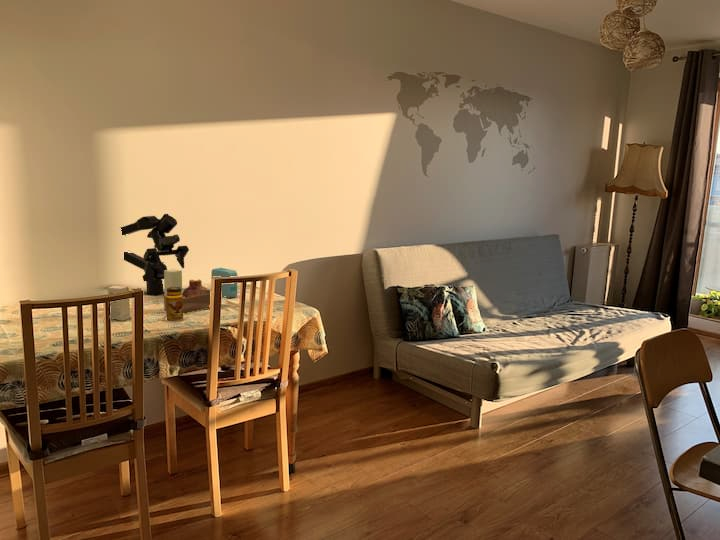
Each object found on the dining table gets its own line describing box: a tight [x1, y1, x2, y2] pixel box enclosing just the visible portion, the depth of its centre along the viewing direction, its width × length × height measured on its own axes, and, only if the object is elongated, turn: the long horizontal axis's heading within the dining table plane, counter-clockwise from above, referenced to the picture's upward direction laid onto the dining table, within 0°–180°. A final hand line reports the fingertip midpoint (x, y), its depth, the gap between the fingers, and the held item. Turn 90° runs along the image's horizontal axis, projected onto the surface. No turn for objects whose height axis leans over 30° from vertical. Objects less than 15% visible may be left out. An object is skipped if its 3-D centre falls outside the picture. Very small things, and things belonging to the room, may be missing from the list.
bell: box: [182, 279, 209, 298], centre depth 261 cm, size 12×12×7 cm
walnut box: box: [163, 288, 211, 314], centre depth 238 cm, size 10×19×6 cm, turn 145°
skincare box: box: [107, 285, 131, 321], centre depth 218 cm, size 6×4×12 cm
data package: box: [211, 267, 238, 298], centre depth 261 cm, size 12×4×12 cm, turn 54°
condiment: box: [158, 287, 189, 323], centre depth 220 cm, size 7×8×12 cm
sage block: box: [163, 268, 183, 295], centre depth 244 cm, size 5×5×14 cm
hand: (173, 268), depth 249 cm, fingers open, 9 cm apart
